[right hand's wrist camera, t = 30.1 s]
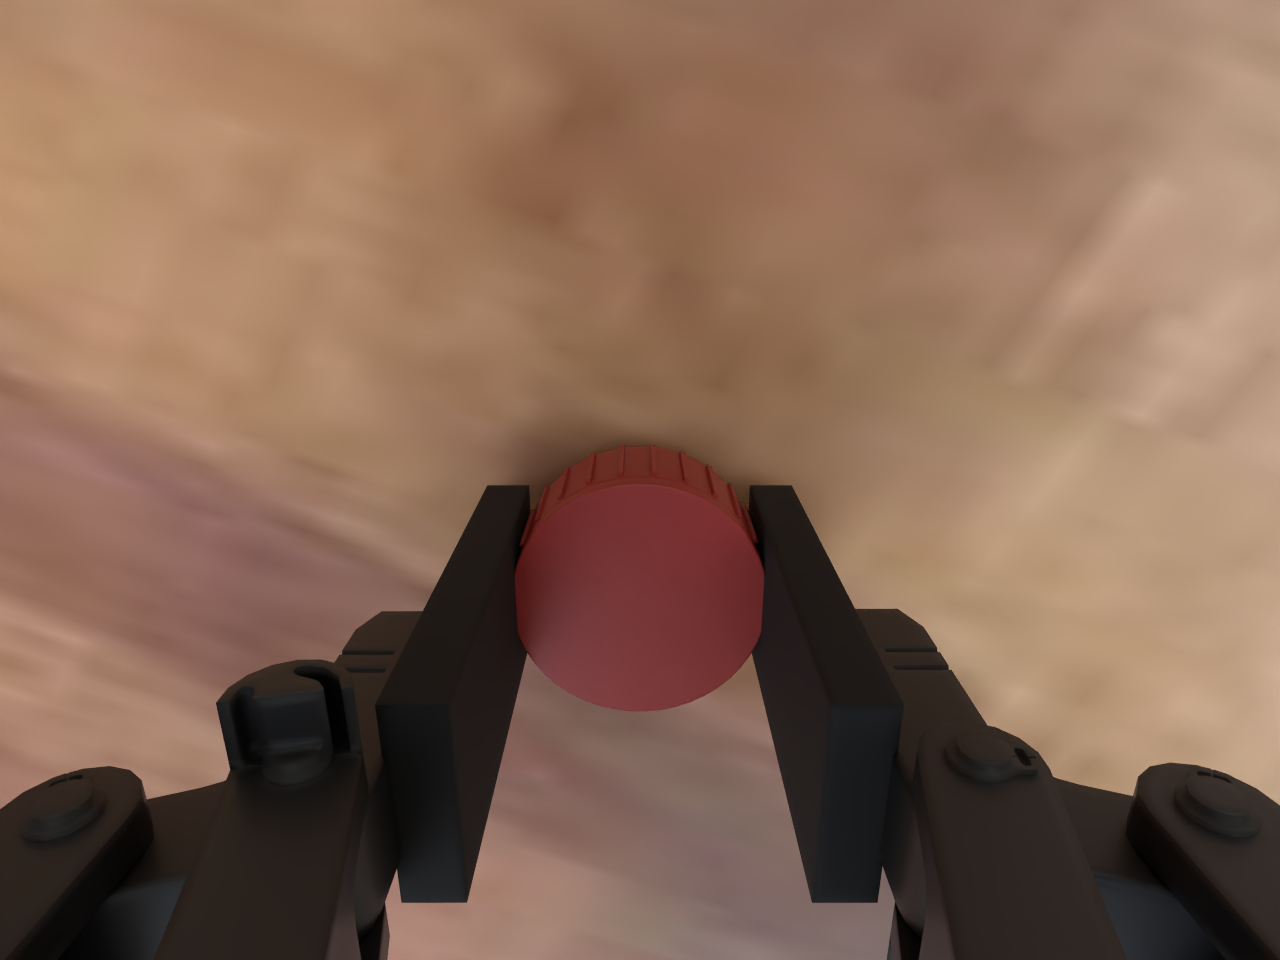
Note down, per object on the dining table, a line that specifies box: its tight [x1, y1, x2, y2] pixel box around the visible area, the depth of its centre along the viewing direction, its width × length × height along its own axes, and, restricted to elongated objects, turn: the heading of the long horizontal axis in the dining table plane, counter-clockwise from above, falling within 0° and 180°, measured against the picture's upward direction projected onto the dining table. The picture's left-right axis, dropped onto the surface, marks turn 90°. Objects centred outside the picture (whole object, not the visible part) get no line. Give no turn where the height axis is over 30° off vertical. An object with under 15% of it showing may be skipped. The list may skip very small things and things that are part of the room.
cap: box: [515, 445, 764, 711], centre depth 14 cm, size 4×4×2 cm
